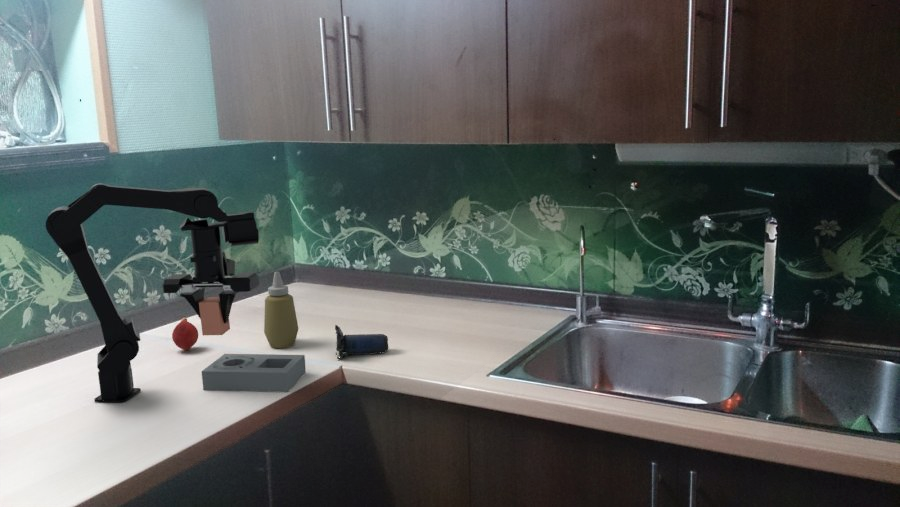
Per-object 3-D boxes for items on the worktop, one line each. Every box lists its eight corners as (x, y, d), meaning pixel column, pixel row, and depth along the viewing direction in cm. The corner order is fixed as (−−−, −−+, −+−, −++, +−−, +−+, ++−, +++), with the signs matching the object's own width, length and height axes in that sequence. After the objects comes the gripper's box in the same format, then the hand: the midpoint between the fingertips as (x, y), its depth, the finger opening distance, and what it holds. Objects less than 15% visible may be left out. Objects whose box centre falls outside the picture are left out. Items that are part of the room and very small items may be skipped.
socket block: (288, 391, 151) (286, 372, 150) (203, 389, 153) (201, 371, 152) (305, 372, 161) (304, 354, 161) (226, 371, 164) (224, 353, 163)
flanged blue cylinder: (337, 367, 168) (390, 364, 172) (337, 337, 166) (391, 333, 169) (332, 348, 177) (383, 345, 180) (333, 318, 174) (384, 316, 177)
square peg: (222, 335, 155) (218, 302, 154) (202, 335, 155) (198, 302, 154) (230, 328, 159) (226, 296, 158) (211, 329, 160) (207, 297, 158)
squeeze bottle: (258, 348, 179) (251, 274, 176) (280, 338, 186) (274, 267, 183) (284, 352, 176) (278, 277, 172) (306, 342, 183) (301, 269, 179)
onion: (191, 354, 176) (188, 322, 174) (169, 354, 177) (165, 321, 176) (204, 347, 182) (200, 315, 180) (182, 346, 183) (179, 314, 181)
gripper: (264, 240, 160) (271, 311, 163) (181, 243, 163) (190, 312, 166) (245, 251, 150) (253, 326, 153) (156, 253, 152) (166, 327, 155)
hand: (215, 322), depth 157 cm, fingers closed on square peg, 4 cm apart
